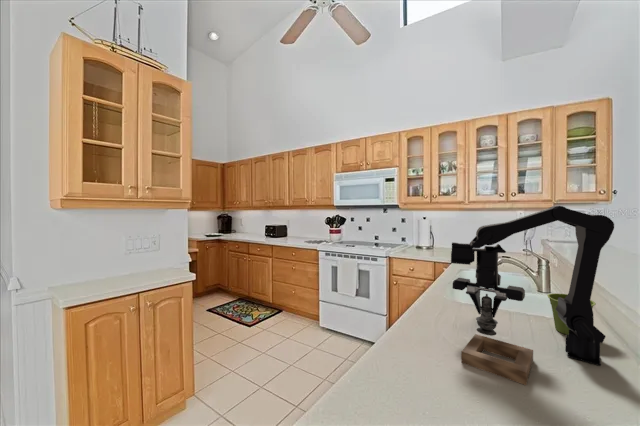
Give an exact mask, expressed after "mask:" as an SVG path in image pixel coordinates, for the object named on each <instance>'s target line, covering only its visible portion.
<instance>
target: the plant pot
mask: <svg viewBox="0 0 640 426" xmlns="http://www.w3.org/2000/svg"><path fill="white" fill-rule="evenodd" d="M567 295H568V293H548V294H547V298H548V299H549V303H550V305H551V311H552V317H553V322H554V327H555V330H556V331H557V332H559V333H561V334H564V335H565V336H566V335H569V330H570V329H569V328H568V327H567V325H566V324H565V323H564V322H563V321H562V320H561V319H560V318H559V316H558V312H557V311H556V310H555V309H556V307H557V306H558V297H560V298H563V299H564V298H565V297H566V296H567ZM590 302H591V306H592V309H593V308H594V307H595V306H596V302H595V301H593V300H591V299H590Z"/></svg>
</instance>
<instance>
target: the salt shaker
mask: <svg viewBox="0 0 640 426" xmlns="http://www.w3.org/2000/svg"><path fill="white" fill-rule="evenodd" d="M488 295H489V294H488V293H485V296H482V297H481V298H480V302H481V307H480V308H481V314H480V316H477V317H475V320H476V323H477V326H478V328H477V329H476V331H477V333H479V334H480V335H481V334H482V335H483V336H484V335H485V336H496V335H497V331H495V329H496V327H497V325H498V324H499V323H498V321H497V320H496V319H494V318H493V316H492V311H493V299H492V297H490V296H488Z"/></svg>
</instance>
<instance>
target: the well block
mask: <svg viewBox="0 0 640 426" xmlns="http://www.w3.org/2000/svg"><path fill="white" fill-rule="evenodd" d="M484 351H485V352H488V353H490V354H495V355H498V356H501V357H504V358H507V359H511V360H513V361H514V362H511V361H508V360H505V359H502V358H498V357H495V356H492V355H489V354H486V353H483V352H484ZM460 355H461V358H460V362H461V363H462V364H464V365H467V366H470V367H473V368H476V369H479V370H481V371H484V372H487V373H490V374H492V375H496V376H498V377H502V378H504V379H507V380H510V381H513V382H516V383H518V384H521V385H525V386H527V385H528V380H529V377H530V373H531V370H532V367H533V364H534V363H533V362H534V349H530V348H527V347H523V346H520V345H516V344H513V343H509V342H505V341H502V340H498V339H495V338H491V337H487V336H486V335H485V336H484V335H481V334H476V333H475V334H474V335H473V336H472V338H471V339H470V340H469V341H468V342H467V343H466V345H465V346H464V348H463V349H462V350H461V353H460Z"/></svg>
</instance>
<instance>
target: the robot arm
mask: <svg viewBox="0 0 640 426" xmlns="http://www.w3.org/2000/svg"><path fill="white" fill-rule="evenodd" d="M558 221H559V222H561V223H564V224H565V225H568V226H570V227H573V228H575V237H576V241H577V250H576V256H575V261H574V266H573V270H572V275H571V280H570V285H569V290H568V293H567V294H568V295H567V296H566V297H565V298H564V299H563V298H560V297H558V306H557V307H556V309H555V310H556V311H557V312H558V316H559V318H560V319H561V320H562V321H563V322H564V323H565V324H566V325H567V327H568V328H569V329H570V330H569V335H566V334H565V347H564V348H565V350H564V351H565V353H567V357H568V358H571V359H575V360H577V361H582V362H585V363H589V364H593V365H596V366H601V365H602V362H601V361H602V360H601V344H603V343H604V341H605V339H606V334H604V333H603V332H602V331H600V330H599V329H598V327H596V326H595V325H594V324H595V323H594V311H593V308H592V306H591V302H590V300H591V298H592V294H593V289H594V283H595V279H596V274H597V269H598V265H599V260H600V257H601V251H602V250H603V248H604V246H606V244H607V242H609V240H610V238H611V236H612V234H613V232H614V229H615V222H614V221H613V220H612V219H611V218H610V217H608V216H606V215H601V214H589V213H584V212H580V211H577V210H574V209H570V208H567V207H565V206H563V205H562V206H561V205H554V206H550V207H549V208H546V209H543V210H540V211H538V212H534V213H531V214H528V215H525V216H522V217H519V218H516V219H512V220H509V221H506V222H499V223H492V224H487V225H485V224H484V225H481V226H480V227H478V229H476V233H475V236H474V238H473V239H472V240H471V241H470V242H469V243H462V242H461V243H459V242H451V251H450V263H451V264H454V265H455V264H456V265H469V266H471V263H472V264H473V263H475V256H476V269H475V279H476V281H475V282H472V281H471V279H469V278H464V277H457V278H456V279H454V280H453V281H452V289H453V290H458V291H464V290H465V289H466V291H465V294H467V295H468V296H469V297H470V299H471V300H472V302H473V305H474V307H475V310H476V311H477V313H478V315H481V308H480V307H481V291H483V292H484V291H485V292H489V293H494V294H495V296H494V297H493V300H492V308H493V310H492V316H493V319H494V318H495V317H496V315H497V312H498V309H499V308H500V305H501V303H502V302H506V301H507V300H511V301H512V300H513V301H517V302H523V301H524V299H525V297H526V290H525V288H523V287H520V286H514V285H507V287H501V281H502V280H501V279H502V276H501V274H499V254H500V253H501V254H505V253H507V251H506V250H505V249H504V248H503V247H502V246H501V245H500V244H499V243H500V242H502V241H503V240H505V239H507V238H509V237H510V236H513V235H515V234H518V233H520V232H525V231H528V230H532V229H535V228H538V227H541V226H544V225H547V224H551V223H553V222H558ZM495 244H496V245H495ZM493 245H495V246H493ZM482 247H483V248H482ZM475 252H476V255H475Z"/></svg>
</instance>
